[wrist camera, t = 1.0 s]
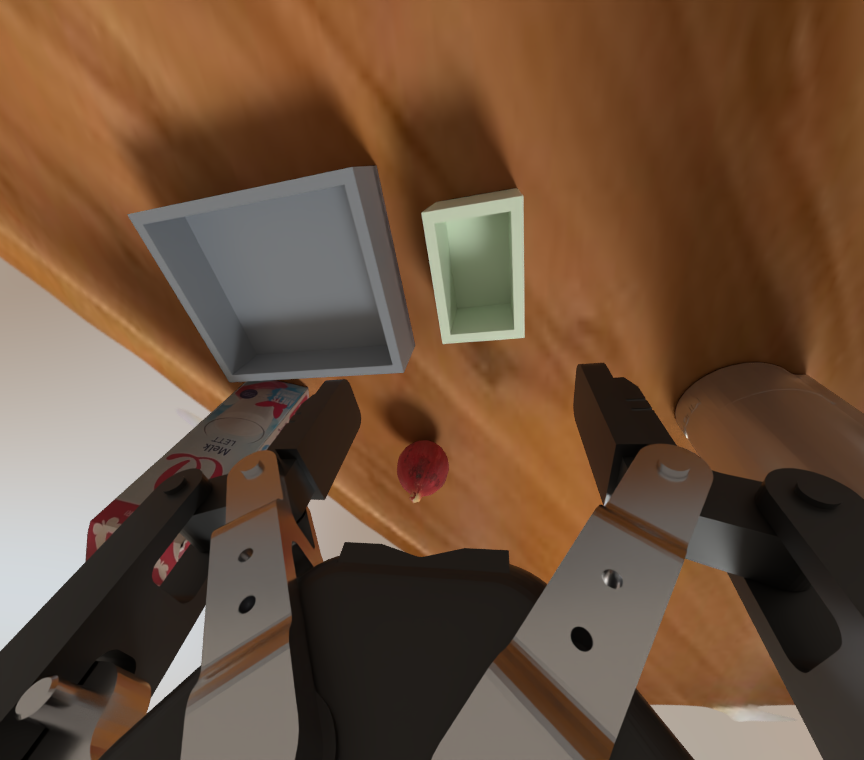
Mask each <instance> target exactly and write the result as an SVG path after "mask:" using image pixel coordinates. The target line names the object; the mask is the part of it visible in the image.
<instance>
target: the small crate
mask: <svg viewBox="0 0 864 760" xmlns="http://www.w3.org/2000/svg"><path fill="white" fill-rule="evenodd" d="M421 214H422V220H423V226H424V232H425V239H426V245H427V251H428V257H429V263H430V269H431V275H432V282H433V288H434V294H435V300H436V306H437V312H438V318H439V324H440V331H441V337H442V343H443V344H448V343H461V342H474V341H488V340H501V339H515V338H525V333H524V213H523V195H522V193H521V192H520V191H519V190H518V188H514V189H508V190H502V191H496V192H491V193H485V194H479V195H473V196H468V197H462V198H456V199H450V200H445V201H439V202H435V203H434V204H432V205H431V206H430V207H428V208H427V209H426V210H424V211H423V212H422V213H421Z"/></svg>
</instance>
